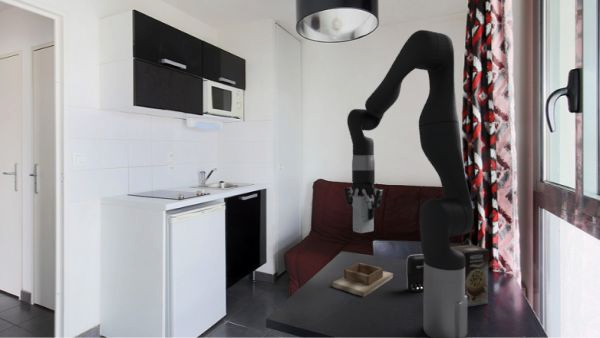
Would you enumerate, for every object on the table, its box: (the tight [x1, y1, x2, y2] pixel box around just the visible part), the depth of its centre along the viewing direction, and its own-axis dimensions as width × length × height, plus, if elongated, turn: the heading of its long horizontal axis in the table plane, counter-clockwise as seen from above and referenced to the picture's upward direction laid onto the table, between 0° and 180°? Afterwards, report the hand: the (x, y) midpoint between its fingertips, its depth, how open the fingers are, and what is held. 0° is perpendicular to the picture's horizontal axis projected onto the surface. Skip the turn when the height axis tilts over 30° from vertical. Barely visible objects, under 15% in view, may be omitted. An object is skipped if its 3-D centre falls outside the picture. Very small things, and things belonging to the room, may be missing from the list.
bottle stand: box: [331, 262, 394, 298], centre depth 110 cm, size 12×20×4 cm, turn 139°
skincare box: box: [352, 195, 375, 234], centre depth 109 cm, size 6×4×12 cm
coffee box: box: [450, 244, 490, 308], centre depth 95 cm, size 9×6×16 cm
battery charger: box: [405, 253, 424, 293], centre depth 103 cm, size 7×4×11 cm, turn 101°
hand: (363, 218), depth 109 cm, fingers closed on skincare box, 5 cm apart
